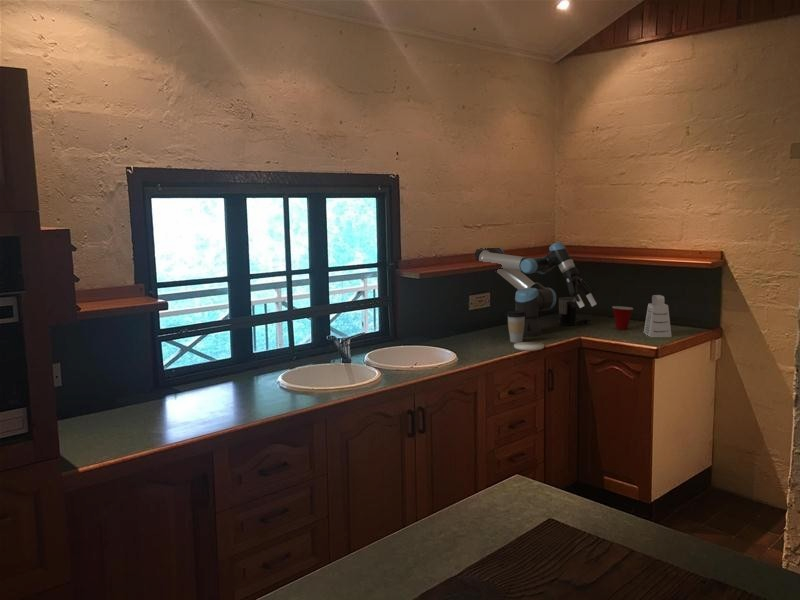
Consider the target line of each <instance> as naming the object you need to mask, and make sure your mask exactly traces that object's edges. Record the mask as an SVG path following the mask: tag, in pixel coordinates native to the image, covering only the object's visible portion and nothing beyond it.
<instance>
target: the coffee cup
mask: <svg viewBox="0 0 800 600" xmlns="http://www.w3.org/2000/svg"><path fill="white" fill-rule="evenodd" d="M506 316H507V327H508V333H509V342H510V343H513V344H516V343H520V342H523V341H524V340H523V338H524V336H523V332H524V324H525V316H526V314H525V312H524V311H518V310H508V312H507V313H506Z"/></svg>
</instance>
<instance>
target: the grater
mask: <svg viewBox="0 0 800 600" xmlns="http://www.w3.org/2000/svg"><path fill="white" fill-rule="evenodd" d="M665 302H666V301H665V296H664V295H661V294H653V295H652V296H651V303H648V305H647V309H646V315H645V322H644V328H643V334H644V333H645V334H646V335H645V334H644V335H645V336H647V335H648V336H647V337H649V336H650V337H649V338H670V337H671V338H672V328H671V318H670V310H669V305H668V304H666V303H665Z"/></svg>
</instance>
